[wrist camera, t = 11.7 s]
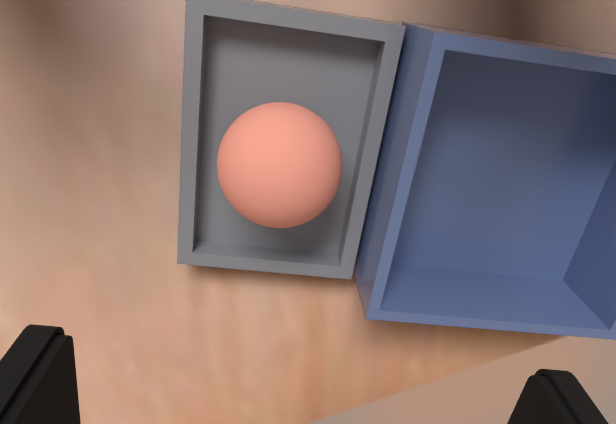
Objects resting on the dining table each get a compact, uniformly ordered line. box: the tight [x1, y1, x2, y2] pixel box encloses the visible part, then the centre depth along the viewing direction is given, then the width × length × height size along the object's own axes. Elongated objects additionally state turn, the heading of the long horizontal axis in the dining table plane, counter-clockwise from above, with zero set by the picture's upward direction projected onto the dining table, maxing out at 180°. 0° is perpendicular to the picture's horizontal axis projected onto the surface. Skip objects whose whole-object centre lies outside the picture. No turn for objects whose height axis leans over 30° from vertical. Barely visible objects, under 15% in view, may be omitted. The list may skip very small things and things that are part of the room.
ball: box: [217, 102, 343, 228], centre depth 23 cm, size 6×6×6 cm
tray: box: [177, 0, 406, 279], centre depth 25 cm, size 10×14×2 cm
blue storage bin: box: [353, 22, 616, 340], centre depth 25 cm, size 14×14×6 cm
